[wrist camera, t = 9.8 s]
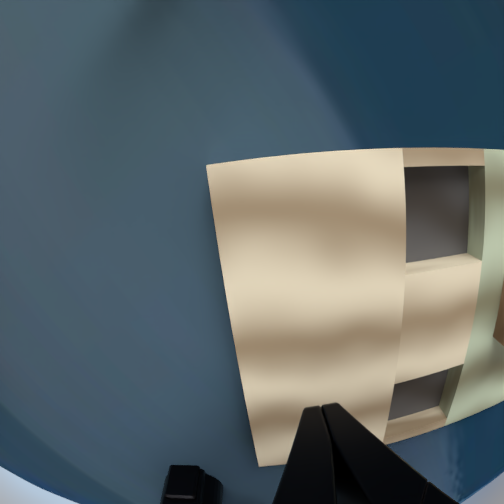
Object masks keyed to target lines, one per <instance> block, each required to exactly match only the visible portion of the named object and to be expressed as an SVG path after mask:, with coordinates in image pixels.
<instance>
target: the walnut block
mask: <svg viewBox="0 0 504 504" xmlns="http://www.w3.org/2000/svg"><path fill="white" fill-rule="evenodd" d="M493 337H494V338H495V339H496V340H497V341H498V342H499V343H501V344H502V345H503V346H504V281H503V287H502V293H501V299H500V305H499V310H498V315H497V320H496V324H495V329H494V333H493Z"/></svg>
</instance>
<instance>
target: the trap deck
mask: <svg viewBox="0 0 504 504" xmlns="http://www.w3.org/2000/svg"><path fill="white" fill-rule="evenodd" d="M206 168H207V175H208V182H209V189H210V196H211V203H212V209H213V216H214V223H215V229H216V236H217V242H218V248H219V255H220V261H221V267H222V273H223V279H224V285H225V291H226V297H227V303H228V309H229V315H230V320H231V326H232V332H233V337H234V343H235V348H236V354H237V359H238V365H239V370H240V375H241V381H242V386H243V391H244V396H245V401H246V406H247V411H248V416H249V421H250V426H251V431H252V436H253V441H254V446H255V450H256V455H257V460H258V465H259V467H261V466H272V465H281V464H286V463H287V460H288V457H289V454H290V451H291V448H292V445H293V441H294V438H295V435H296V432H297V428H298V425H299V422H300V418H301V415H302V412H303V409H304V408H305V407H310V406H317V405H319V406H320V407H321V406H322V405H323V404H328V403H334V402H337V403H339V404H340V405H341V406H342V407H343V408H344V409H346V410H347V411H348V412H349V413H350V414H351V415H352V416H353V417H355V418H356V419H357V420H358V421H359V422H360V423H361V424H362V425H364V426H365V427H366V428H367V429H368V430H369V431H370V432H371V433H373V434H374V435H375V436H376V437H377V438H378V439H380V440H381V441H382V442H383V443H384V444H385V445H386V444H390V443H393V442H397V441H400V440H404V439H407V438H410V437H413V436H417V435H420V434H423V433H426V432H429V431H432V430H434V429H437V428H440V427H443V426H445V425H448V424H451V423H453V422H456V421H458V420H461V419H463V418H466V417H468V416H471V415H473V414H475V413H478V412H480V411H482V410H484V409H487V408H489V407H491V406H493V405H495V404H497V403H499V402H501V401H503V400H504V346H503V345H502V344H501V343H499V342H498V341H497V340H496V339H495V338H494V337H493V333H494V329H495V324H496V320H497V315H498V310H499V305H500V299H501V293H502V287H503V281H504V150H495V149H473V148H385V149H361V150H343V151H328V152H315V153H304V154H293V155H283V156H273V157H264V158H256V159H248V160H240V161H232V162H225V163H218V164H211V165H206Z"/></svg>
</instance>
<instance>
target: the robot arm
mask: <svg viewBox="0 0 504 504" xmlns="http://www.w3.org/2000/svg"><path fill="white" fill-rule="evenodd" d="M222 493H223V486H222V484H221V482H220V481H219V480H217V479H216V478H214V477H212V476H210V475H208V474H206V473H205V471H204V470H203V469H200V467H199V466H191V465H171V466H170V468H169V472H168V475H167V476H166V479H165V483H164V488H163V492H162V497H161V502H160V504H222ZM272 504H459V503H458V502H456V501H455V500H453V499H452V498H450V497H449V496H448V495H446V494H445V493H444V492H442V491H441V490H440V489H438V488H437V487H436V486H435V485H433V484H432V483H431V482H427V479H426V478H425V477H423V476H422V475H421V474H420V473H419V472H417V471H416V470H415V469H414V468H413V467H411V466H410V465H409V464H408V463H407V462H405V461H404V460H403V459H402V458H401V457H399V456H398V455H397V454H396V453H395V452H394V451H392V450H391V449H390V448H389V447H388V446H386V445H385V444H384V443H383V442H382V441H381V440H380V439H378V438H377V437H376V436H375V435H374V434H373V433H371V432H370V431H369V430H368V429H367V428H366V427H365V426H364V425H362V424H361V423H360V422H359V421H358V420H357V419H356V418H355V417H353V416H352V415H351V414H350V413H349V412H348V411H347V410H346V409H344V408H343V407H342V406H341V405H340V404H339V403H337V402H334V403H328V404H323V405H322V406H321V407H320V406H319V405H317V406H310V407H305V408H304V409H303V412H302V415H301V418H300V422H299V425H298V428H297V432H296V435H295V438H294V441H293V445H292V448H291V451H290V454H289V457H288V460H287V463H286V466H285V469H284V472H283V475H282V478H281V481H280V483H279V486H278V489H277V492H276V495H275V497H274V500H273V503H272Z"/></svg>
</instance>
